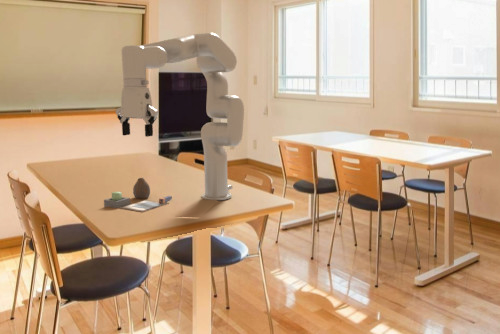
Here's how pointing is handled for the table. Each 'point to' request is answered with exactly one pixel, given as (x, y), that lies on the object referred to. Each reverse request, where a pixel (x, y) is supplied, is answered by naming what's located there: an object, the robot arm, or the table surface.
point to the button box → (116, 202)
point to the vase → (141, 189)
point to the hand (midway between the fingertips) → (137, 135)
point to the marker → (165, 199)
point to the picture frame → (143, 206)
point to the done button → (116, 196)
